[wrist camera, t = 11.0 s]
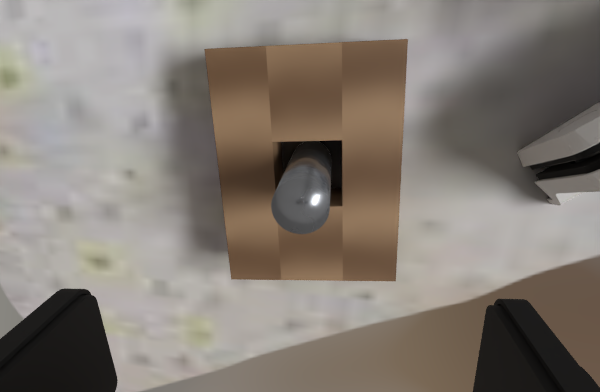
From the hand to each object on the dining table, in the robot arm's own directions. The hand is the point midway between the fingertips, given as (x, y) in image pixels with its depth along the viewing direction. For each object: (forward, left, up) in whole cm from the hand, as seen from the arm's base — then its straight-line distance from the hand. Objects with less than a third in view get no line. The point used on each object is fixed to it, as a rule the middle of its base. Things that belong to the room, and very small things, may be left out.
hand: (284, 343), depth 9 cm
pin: (+1, -1, -21) cm, 21 cm away
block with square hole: (+1, -1, -20) cm, 20 cm away
